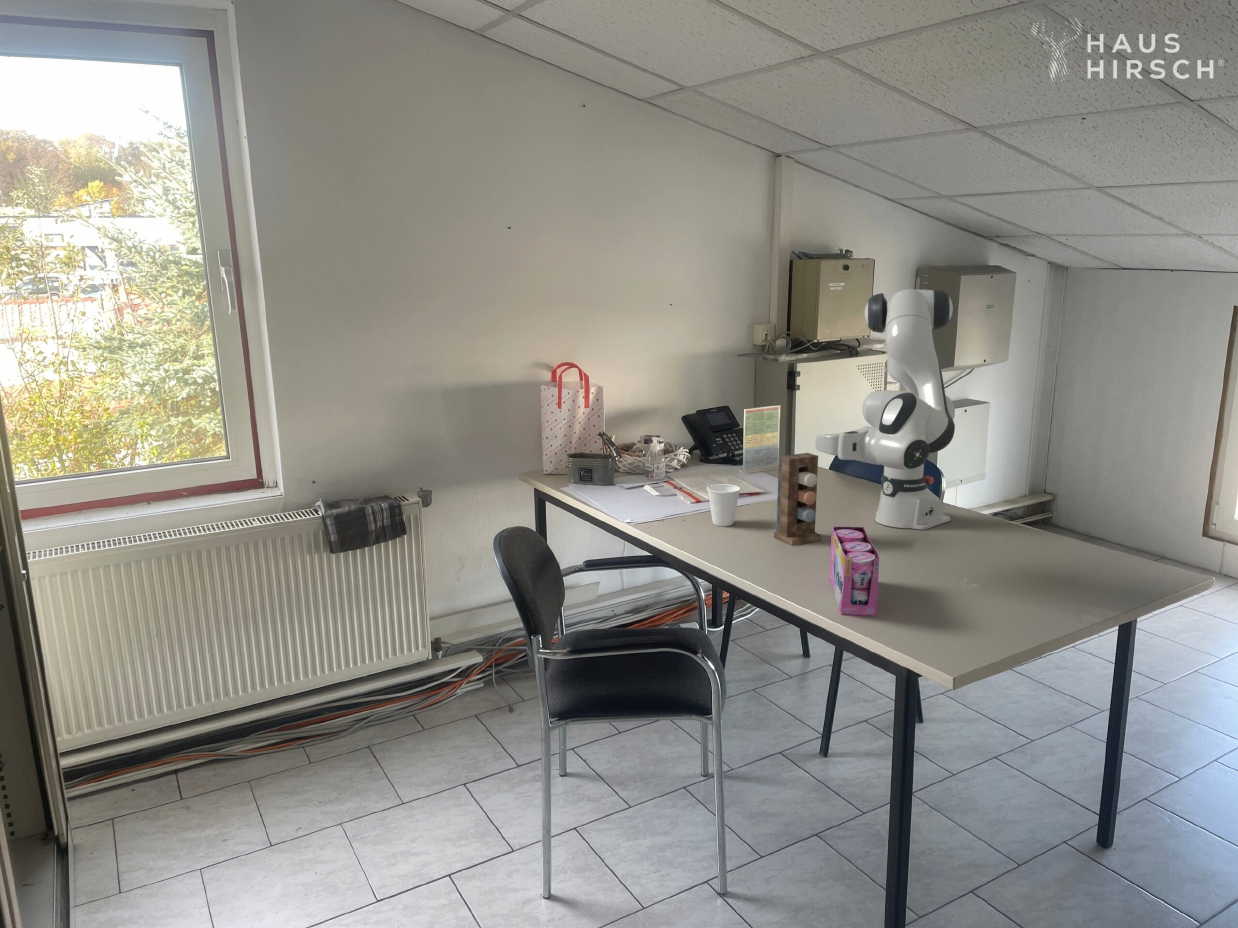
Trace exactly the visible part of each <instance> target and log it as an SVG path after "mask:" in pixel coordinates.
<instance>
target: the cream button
mask: <svg viewBox="0 0 1238 928" xmlns="http://www.w3.org/2000/svg"><path fill="white" fill-rule="evenodd" d="M798 483H800V484H803V485H806V486H809V487H813V486H814V485H815V484H816V483H817V484H818V475H817V476H816V475H815V474H812V473H809V472H801V473H798Z"/></svg>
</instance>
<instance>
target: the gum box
mask: <svg viewBox="0 0 1238 928" xmlns="http://www.w3.org/2000/svg"><path fill="white" fill-rule="evenodd" d="M830 537H831V540H830V560H829V561H830V563H829V565H830V566H829V567H830V568H829V581H830V583H831V584H830V585H831V587H832V591H833V594H834V596H835V600H836V603H837V606H838V609H839V612H840V614H841V615H849V616H850V615H854V616H873V617H874V616H875V617H876V616H877V613H878V612H877V611H878V610H877V609H878V595H879V594H878V591H879V571H880V570H879V569H880V555H879V552H878V550H877V549H876V546H874V544H873V543H872V541H871V539H870V537H869V535H868V533H867V531H866V529H865V527H862V526H832V527H831V536H830Z"/></svg>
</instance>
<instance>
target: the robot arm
mask: <svg viewBox="0 0 1238 928" xmlns="http://www.w3.org/2000/svg"><path fill="white" fill-rule="evenodd" d="M867 301H868V302H867V303H866V304H865V308H864V319H865V322H866V324H867V328H868V329H869V330H870V331H871V332H874V333H880V334H883V333H885V344H886V356H887V358H886V359H887V360H886V361H887V362H886V367H887V370H886V371H887V373H888V375H889V376H890V378H891V379H892V380H893V381H895V382H897V383H899V385H902V386H903V387H904V389H905V391H904V390H893V389H891V390H889V389H884V390H883V389H882V390H877V391H871V392H870V393H869V394H868V395H866V397H865V399H864V400H863V403H862V406H861V407H862V408H861V411H862V416H863V418H864V420H865V421H866V422H867V424H869V425H870V426H869V425H867V426H866V425H865V426H863V427H860V428H858V429H856V430H855V429H854V430H851V431H845V432H840V433H831V434H830V433H829V434H818V435H816V436H815V442H814V443H815V444H814V445H815V449H816V451H818V452H821V453H824V454H828V455H831V456H836V457H838V459H839V460H843V461H844V460H845V461H858V462H861V463H867V464H872V465H876V466H877V465H879V466H880V465H882V466H883V473H882V474H881V491H880V495H879V503H878V506H877V507H878V508H877V510H876V512H875V518H874V520H875V521H876V522H877V523H878V524H880V525H884V526H886V527H892V528H898V529H899V528H900V529H913V530H927V529H931V528H933V527H936V526H939V525H942V524H944V523H947V522H950V521H951V516H950V515H948V514H946V513H943V502H942V500H941V498H939V497H938V496H937V495H935V494H934V492H932V491H930V489H929V488H928V486H927V484H929V485H932V484H933V483H934V481H935V479H934V477H933V476H929V475H926V476H924V471H925V470H924V468H925V466H924V465H925V462H926V461H927V460H928V458H929V456H930V454H932V453H937V452H940V451H942V450H944V449H945V448H947V446H948V445H950V444H951V442H952V441H953V439H954V435H955V431H956V429H955V428H956V424H955V422H954V419H955V413H956V409H955V405H954V402H953V401H952V399H951V398H950V397H949V396H947V395H946V390H945V385H944V384H945V383H944V378H943V377H944V376H943V373H942V367H941V365H940V362H939V358H938V355H937V352H936V348H935V344H934V339H933V331H936V330H940V329H943V328H945V327H946V326H947V325H949V324H950V320H951V318H952V316H953V312H954V311H953V310H954V306H953V301H952V299H951V297H950V294H949V293H948V292H947V291H946V290H944V289H938V288H937V289H936V288H933V289H930V290H929V289H912V288H909V289H908V288H907V289H903V290H900V291H892V292H887V293H884V292H880V293H877V294H873V295H871V296H870V298H868V300H867Z"/></svg>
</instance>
